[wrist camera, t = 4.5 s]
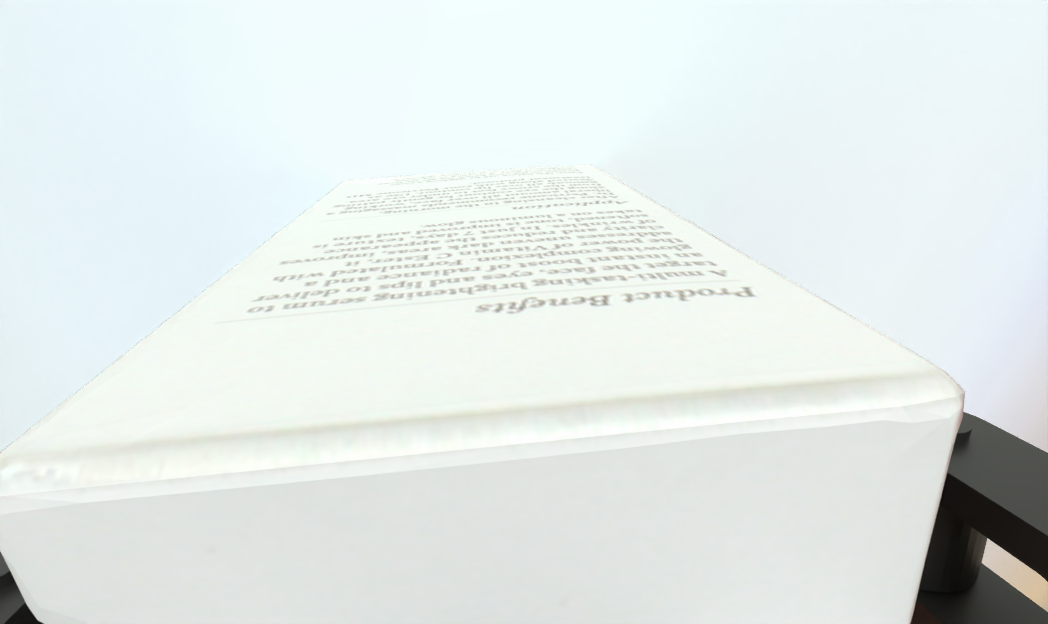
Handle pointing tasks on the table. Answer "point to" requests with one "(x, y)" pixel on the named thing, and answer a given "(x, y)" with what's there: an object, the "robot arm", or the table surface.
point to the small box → (488, 431)
